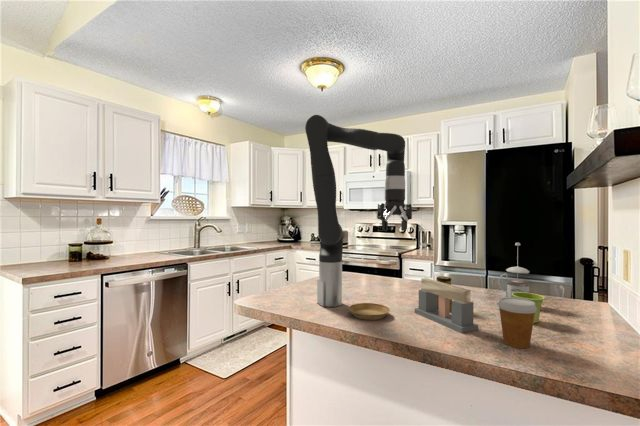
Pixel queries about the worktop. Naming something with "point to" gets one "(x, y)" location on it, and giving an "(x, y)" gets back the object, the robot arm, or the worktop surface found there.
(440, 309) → the display stand
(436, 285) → the ash bar
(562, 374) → the worktop surface
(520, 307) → the disposable coffee cup
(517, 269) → the french press
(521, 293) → the plant pot
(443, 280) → the condiment
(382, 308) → the plant saucer
